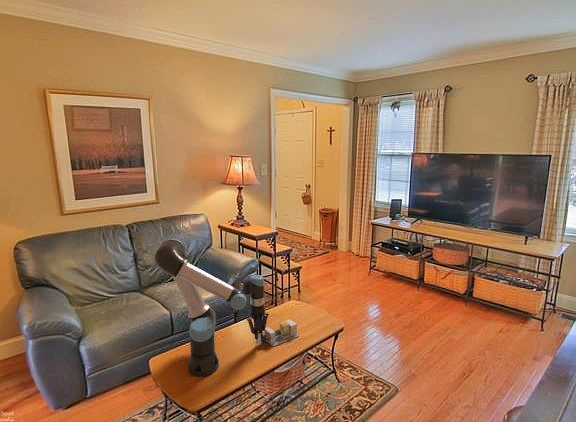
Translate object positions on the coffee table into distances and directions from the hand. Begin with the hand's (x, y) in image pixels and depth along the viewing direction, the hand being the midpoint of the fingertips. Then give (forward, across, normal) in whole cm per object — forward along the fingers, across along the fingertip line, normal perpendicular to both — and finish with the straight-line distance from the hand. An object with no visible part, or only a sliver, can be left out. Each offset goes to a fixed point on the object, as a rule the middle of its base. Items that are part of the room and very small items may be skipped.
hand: (258, 343), depth 188 cm
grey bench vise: (+2, +15, 0) cm, 15 cm away
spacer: (+1, +18, 0) cm, 18 cm away
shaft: (0, +8, 0) cm, 8 cm away
